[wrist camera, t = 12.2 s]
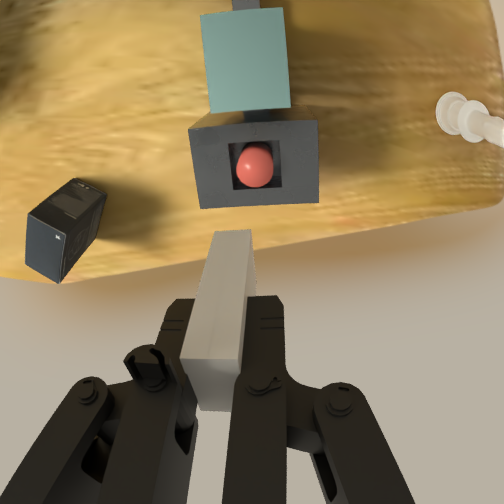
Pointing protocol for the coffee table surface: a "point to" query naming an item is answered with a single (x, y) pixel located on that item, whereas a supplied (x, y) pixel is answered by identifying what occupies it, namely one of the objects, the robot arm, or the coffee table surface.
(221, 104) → the block
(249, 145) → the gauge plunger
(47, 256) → the box
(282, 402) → the robot arm
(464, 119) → the candle
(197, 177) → the gray button box
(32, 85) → the coffee table surface
